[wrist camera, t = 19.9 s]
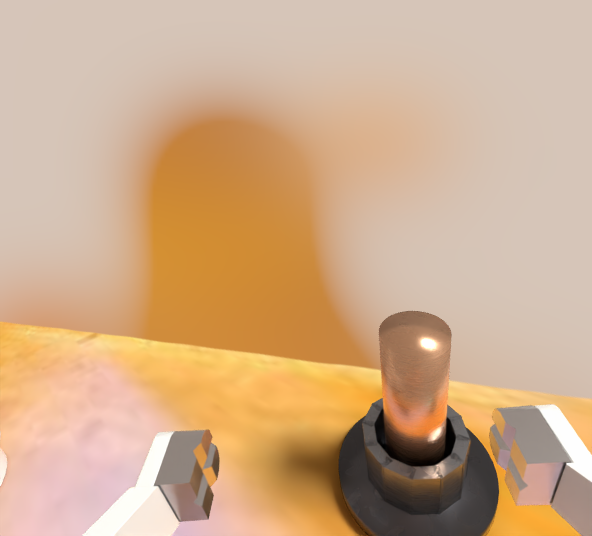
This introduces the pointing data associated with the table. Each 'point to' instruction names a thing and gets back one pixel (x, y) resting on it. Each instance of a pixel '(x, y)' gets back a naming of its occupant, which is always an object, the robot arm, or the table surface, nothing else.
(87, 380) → the table surface
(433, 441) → the copper pipe
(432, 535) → the pipe sleeve
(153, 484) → the robot arm
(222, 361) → the table surface
